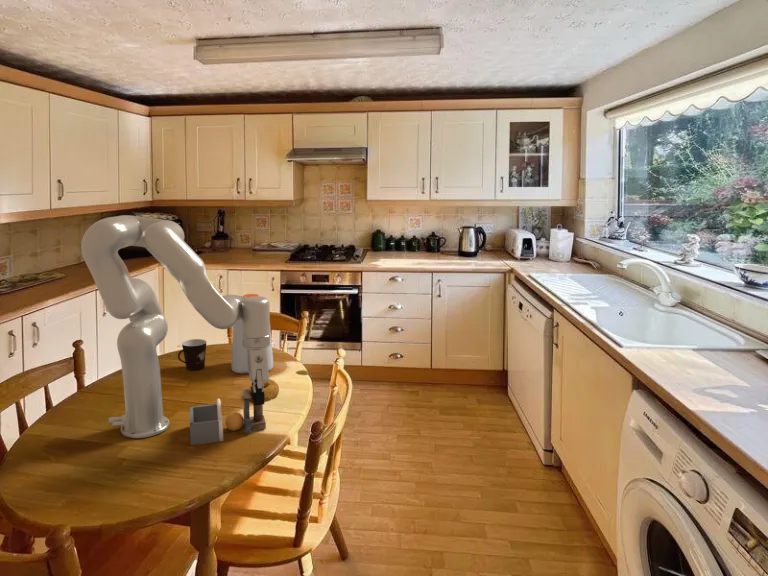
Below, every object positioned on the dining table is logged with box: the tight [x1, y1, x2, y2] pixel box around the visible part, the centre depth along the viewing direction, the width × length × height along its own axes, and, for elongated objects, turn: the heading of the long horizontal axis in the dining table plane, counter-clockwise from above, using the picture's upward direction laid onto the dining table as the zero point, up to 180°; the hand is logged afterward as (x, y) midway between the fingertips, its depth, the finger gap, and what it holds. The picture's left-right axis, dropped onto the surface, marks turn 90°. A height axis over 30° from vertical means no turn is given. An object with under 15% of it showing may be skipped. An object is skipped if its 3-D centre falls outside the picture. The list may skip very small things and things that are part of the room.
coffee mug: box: [177, 338, 207, 372], centre depth 194 cm, size 12×9×10 cm
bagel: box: [248, 378, 280, 402], centre depth 172 cm, size 10×11×5 cm
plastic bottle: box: [231, 293, 274, 374], centre depth 196 cm, size 15×15×28 cm
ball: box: [225, 412, 244, 432], centre depth 149 cm, size 5×5×5 cm
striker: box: [240, 387, 267, 435], centre depth 149 cm, size 6×8×12 cm
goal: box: [189, 397, 224, 446], centre depth 146 cm, size 8×12×8 cm
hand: (257, 401), depth 150 cm, fingers closed on striker, 3 cm apart
